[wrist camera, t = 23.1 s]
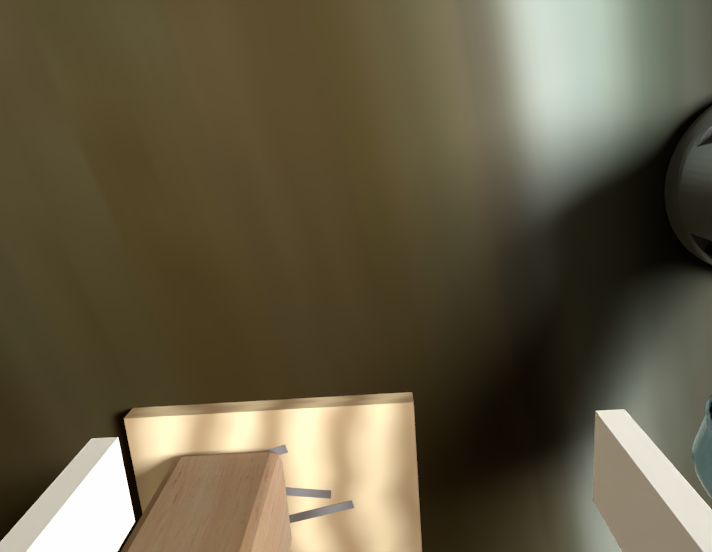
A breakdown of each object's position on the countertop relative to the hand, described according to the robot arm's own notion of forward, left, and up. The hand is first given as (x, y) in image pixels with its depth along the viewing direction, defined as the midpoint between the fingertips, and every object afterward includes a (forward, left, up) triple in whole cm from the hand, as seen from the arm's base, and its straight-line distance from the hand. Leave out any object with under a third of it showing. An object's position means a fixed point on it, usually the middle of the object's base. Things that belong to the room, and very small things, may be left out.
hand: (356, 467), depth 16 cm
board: (+10, +23, -35) cm, 43 cm away
